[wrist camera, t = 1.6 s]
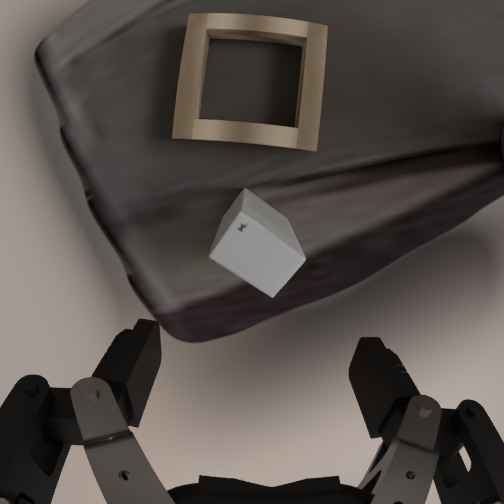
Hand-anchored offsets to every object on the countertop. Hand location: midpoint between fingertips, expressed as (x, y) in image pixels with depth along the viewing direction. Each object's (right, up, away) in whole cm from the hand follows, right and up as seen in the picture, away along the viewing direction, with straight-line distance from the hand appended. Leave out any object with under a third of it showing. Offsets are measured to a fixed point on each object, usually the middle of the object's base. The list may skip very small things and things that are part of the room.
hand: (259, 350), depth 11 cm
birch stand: (0, +22, +16) cm, 27 cm away
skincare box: (0, +8, +21) cm, 23 cm away
